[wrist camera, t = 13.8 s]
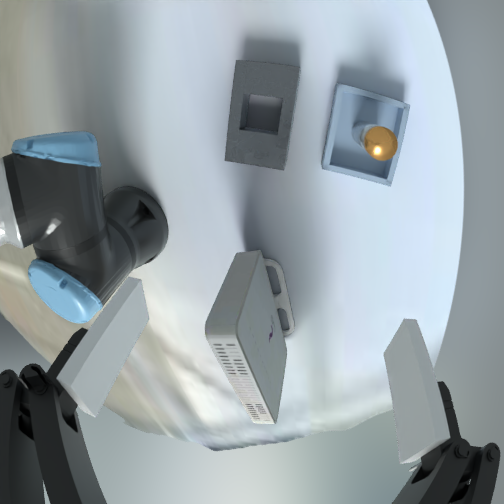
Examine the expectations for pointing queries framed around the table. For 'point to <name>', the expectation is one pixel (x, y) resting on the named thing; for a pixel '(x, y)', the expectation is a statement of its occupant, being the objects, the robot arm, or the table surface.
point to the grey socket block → (245, 83)
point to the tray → (340, 138)
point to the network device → (251, 334)
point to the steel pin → (375, 140)
